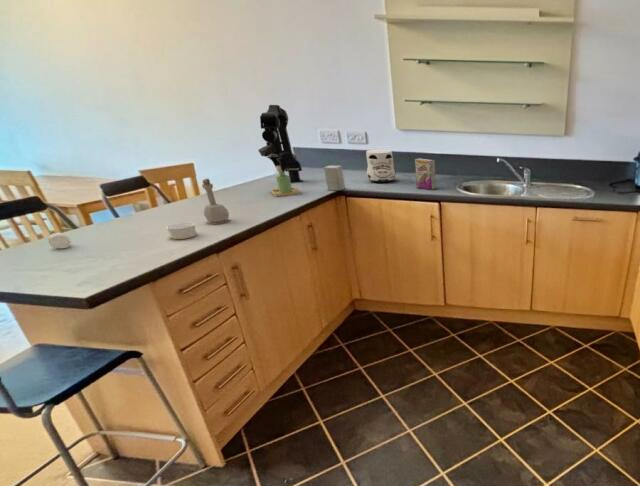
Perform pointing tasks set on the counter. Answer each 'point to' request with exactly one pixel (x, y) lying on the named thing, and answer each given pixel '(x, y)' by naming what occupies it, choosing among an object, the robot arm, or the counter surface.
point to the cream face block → (380, 166)
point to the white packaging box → (334, 177)
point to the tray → (277, 193)
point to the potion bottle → (214, 206)
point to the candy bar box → (425, 174)
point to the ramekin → (182, 230)
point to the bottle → (284, 183)
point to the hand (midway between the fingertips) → (281, 171)
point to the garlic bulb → (59, 240)
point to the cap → (279, 168)
